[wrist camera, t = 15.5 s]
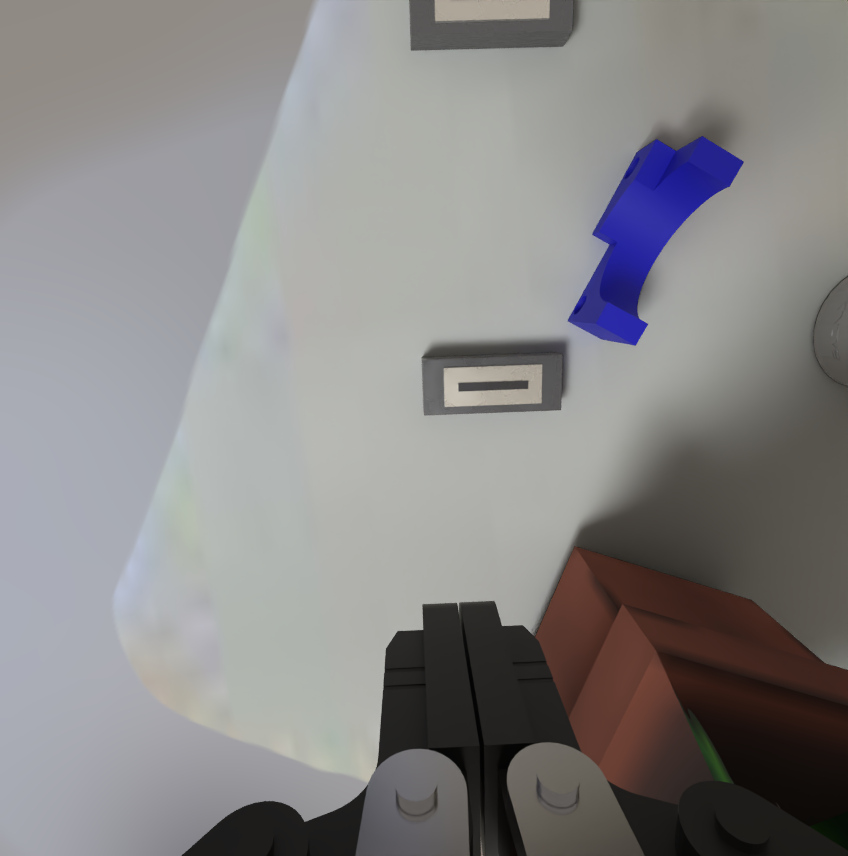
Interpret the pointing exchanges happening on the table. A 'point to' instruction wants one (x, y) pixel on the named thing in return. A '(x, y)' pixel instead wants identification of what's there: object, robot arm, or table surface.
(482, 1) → the label stands
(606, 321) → the cable clip
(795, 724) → the potted plant
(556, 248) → the table surface
